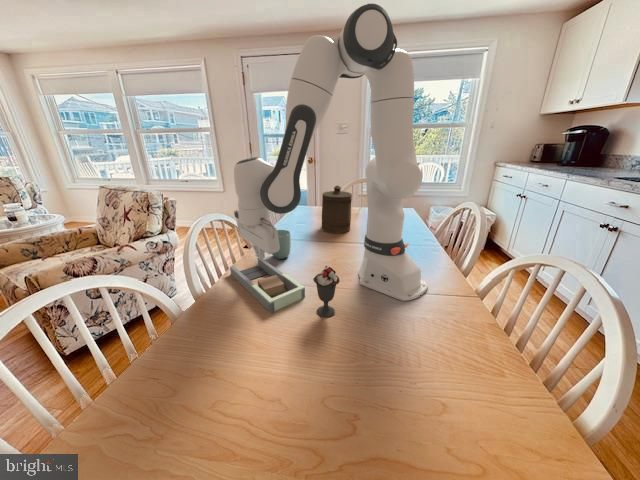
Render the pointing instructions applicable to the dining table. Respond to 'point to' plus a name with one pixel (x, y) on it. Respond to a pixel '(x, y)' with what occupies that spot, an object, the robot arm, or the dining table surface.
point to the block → (271, 286)
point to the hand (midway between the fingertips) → (260, 257)
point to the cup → (283, 244)
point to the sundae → (326, 290)
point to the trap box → (269, 303)
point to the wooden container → (336, 211)
